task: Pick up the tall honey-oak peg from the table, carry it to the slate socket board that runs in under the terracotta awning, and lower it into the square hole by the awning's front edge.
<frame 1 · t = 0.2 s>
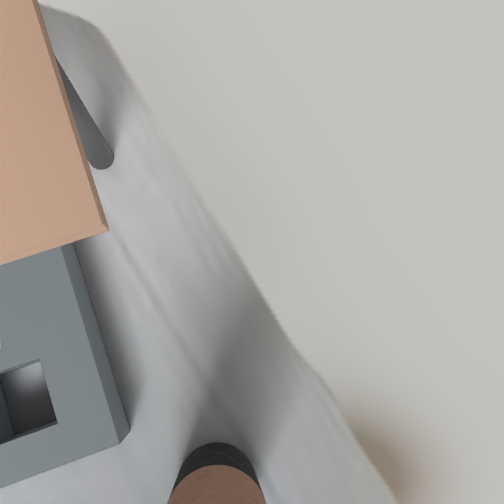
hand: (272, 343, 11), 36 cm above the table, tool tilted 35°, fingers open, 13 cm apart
travel mug: (216, 481, 44), on the table
socket board: (25, 352, 45), on the table
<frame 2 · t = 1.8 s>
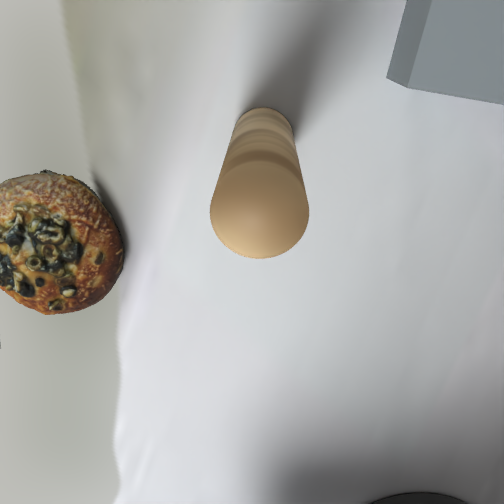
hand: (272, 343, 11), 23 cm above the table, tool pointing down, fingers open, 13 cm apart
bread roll: (54, 237, 36), on the table
oak peg: (262, 138, 32), on the table
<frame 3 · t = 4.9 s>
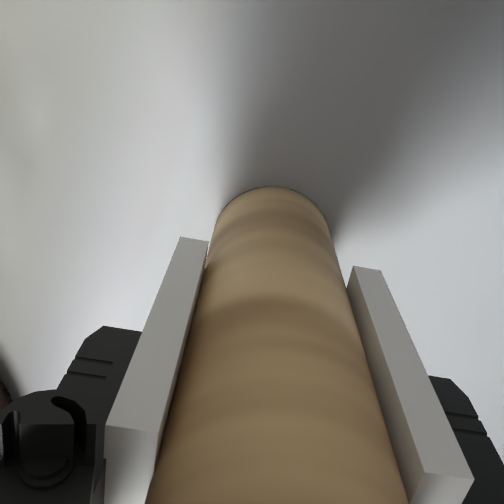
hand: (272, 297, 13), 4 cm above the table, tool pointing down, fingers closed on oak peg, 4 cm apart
oak peg: (271, 242, 17), on the table, touching gripper
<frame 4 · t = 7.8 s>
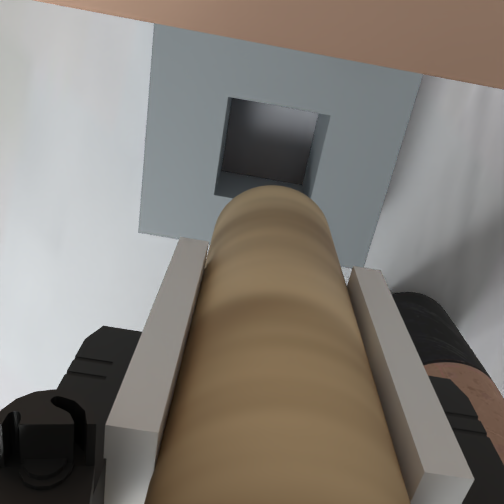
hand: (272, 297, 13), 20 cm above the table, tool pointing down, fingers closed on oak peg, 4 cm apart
travel mug: (401, 329, 38), on the table
socket board: (281, 73, 30), on the table
oak peg: (271, 241, 17), point 17 cm above the table, touching gripper
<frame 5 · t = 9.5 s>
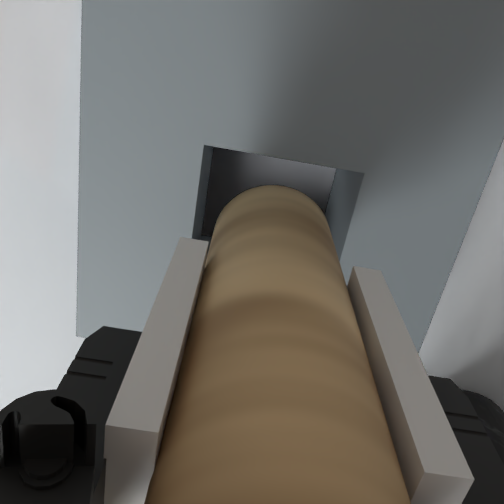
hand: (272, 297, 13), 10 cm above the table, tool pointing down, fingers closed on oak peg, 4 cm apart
travel mug: (444, 433, 29), on the table
socket board: (286, 101, 21), on the table
oak peg: (271, 241, 17), point 6 cm above the table, touching gripper
when the fingers open (7 cm above the table, at t = 10.8 s): oak peg drops 3 cm, resting in socket board.
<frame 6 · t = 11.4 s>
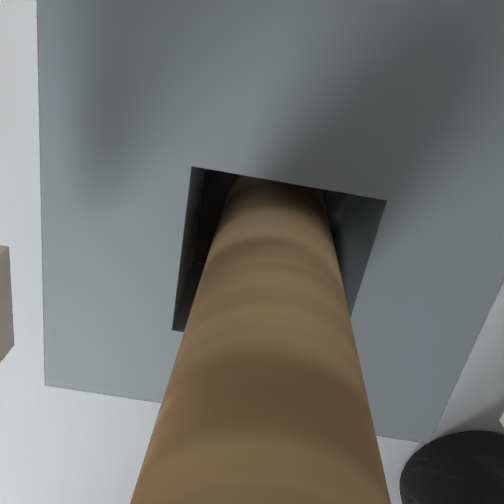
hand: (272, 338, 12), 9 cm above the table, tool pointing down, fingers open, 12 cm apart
travel mug: (465, 476, 26), on the table
socket board: (291, 110, 18), on the table
oak peg: (274, 211, 19), resting in socket board
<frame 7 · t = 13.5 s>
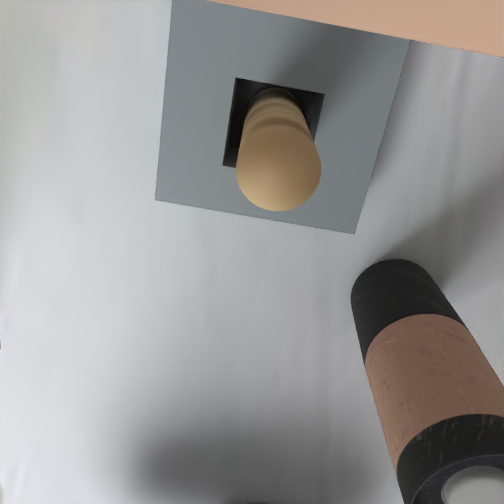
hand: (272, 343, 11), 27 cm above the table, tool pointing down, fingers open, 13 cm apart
travel mug: (391, 294, 42), on the table
socket board: (282, 58, 33), on the table
oak peg: (273, 116, 35), resting in socket board
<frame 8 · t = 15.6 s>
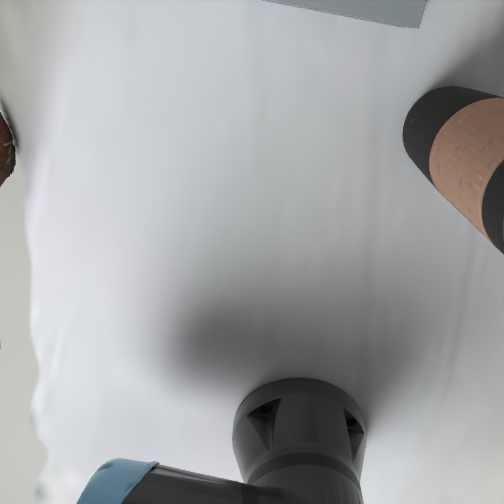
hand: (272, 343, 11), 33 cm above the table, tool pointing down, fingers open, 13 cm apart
travel mug: (443, 128, 41), on the table
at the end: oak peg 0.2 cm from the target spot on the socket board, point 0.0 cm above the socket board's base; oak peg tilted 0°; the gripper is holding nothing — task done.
